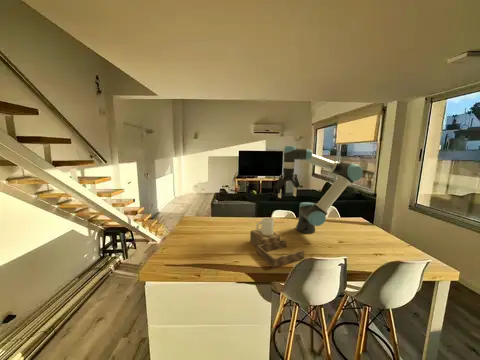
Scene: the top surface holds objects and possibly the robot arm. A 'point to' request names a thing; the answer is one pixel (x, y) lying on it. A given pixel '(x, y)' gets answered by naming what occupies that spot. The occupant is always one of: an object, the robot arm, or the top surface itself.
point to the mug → (266, 226)
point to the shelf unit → (273, 248)
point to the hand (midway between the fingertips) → (287, 196)
